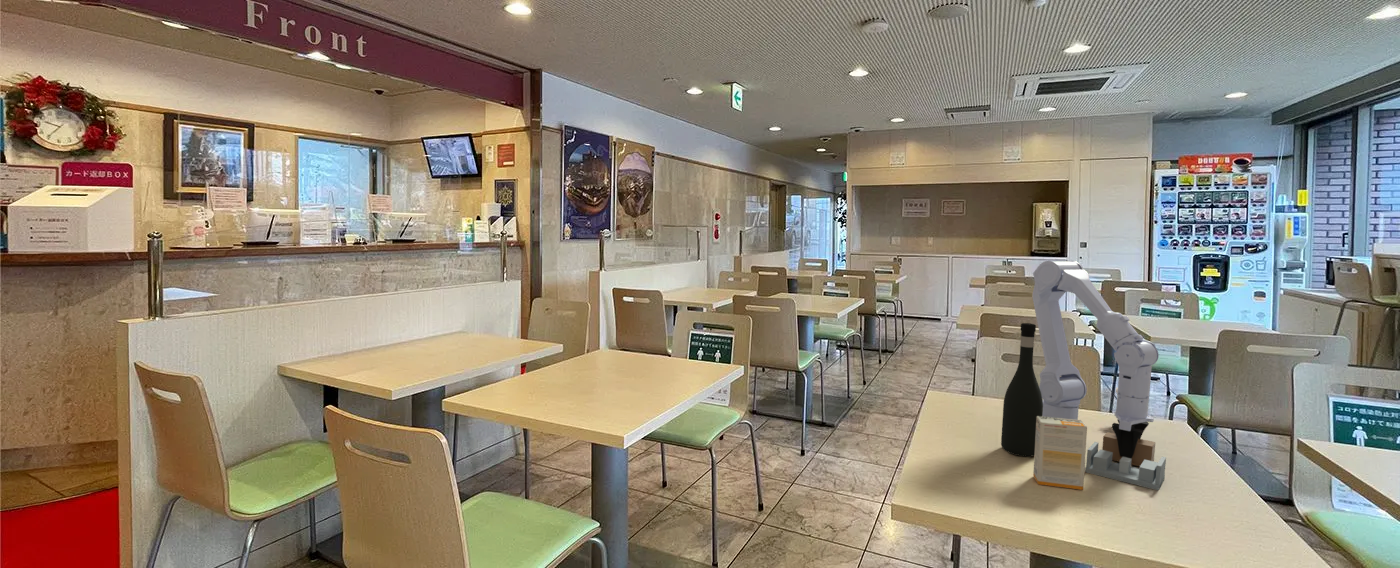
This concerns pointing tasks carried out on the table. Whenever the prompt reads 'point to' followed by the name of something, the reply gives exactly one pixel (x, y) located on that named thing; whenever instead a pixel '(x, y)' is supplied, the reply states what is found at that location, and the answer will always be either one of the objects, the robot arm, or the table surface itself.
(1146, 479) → the display stand
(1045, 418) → the supplement box
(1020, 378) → the wine bottle
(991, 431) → the table surface
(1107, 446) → the brown rectangular block
